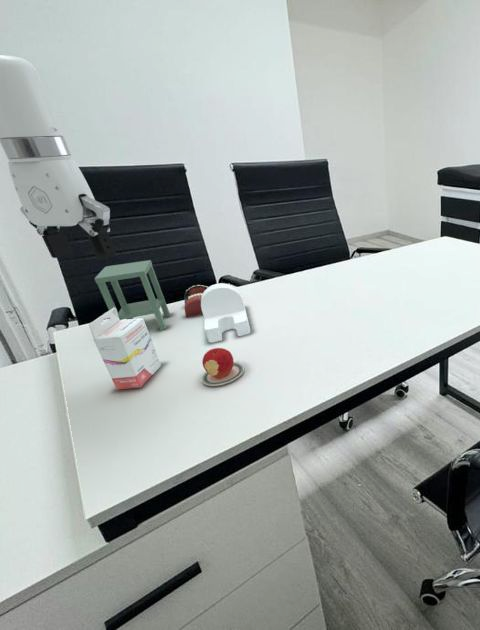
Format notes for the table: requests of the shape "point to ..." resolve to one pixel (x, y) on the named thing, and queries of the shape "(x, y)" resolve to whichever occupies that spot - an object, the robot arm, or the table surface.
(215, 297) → the white phone stand
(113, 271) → the high shelf
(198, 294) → the teeth model
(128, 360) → the ink cartridge box
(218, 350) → the apple
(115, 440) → the table surface
